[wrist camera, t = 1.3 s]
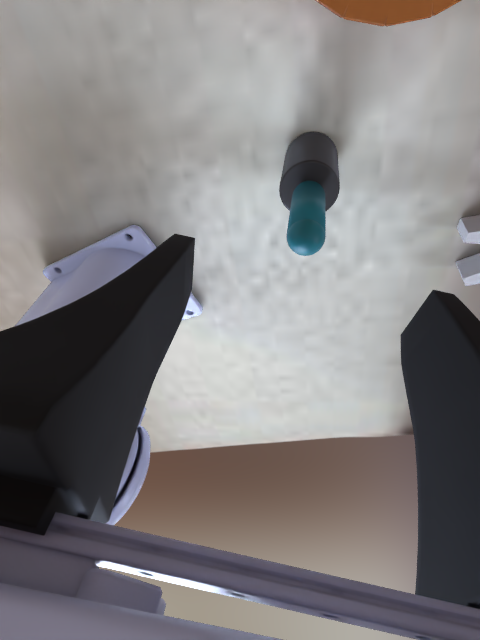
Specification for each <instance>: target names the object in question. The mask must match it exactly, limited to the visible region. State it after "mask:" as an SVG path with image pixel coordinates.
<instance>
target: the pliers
mask: <svg viewBox="0 0 480 640" xmlns="http://www.w3.org/2000/svg"><path fill="white" fill-rule="evenodd" d="M457 229H458V231H459V234H460V236H461V238H462V240H463V242H464V243H480V215H476V216H470V217H464V218H460V221H459V224H458V226H457ZM456 264H457V267H458V269H459V272H460V274H461V276H462V279H463V281H464V283H465V286H469V285H474V284H479V283H480V253H478V254H476V255H473V256H470V257H467V258H464V259H462V260H459V261H456Z"/></svg>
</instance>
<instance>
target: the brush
mask: <svg viewBox="0 0 480 640" xmlns="http://www.w3.org/2000/svg"><path fill="white" fill-rule="evenodd" d="M279 191H280V197H281V200H282V202H283V204H284V205H285V207H286V208H287V209H288V210H290V215H289V223H288V230H287V242H288V245H289V247H290V248H291V249H292V250H293V251H294V252H295V253H297V254H299V255H303V256H308V255H312V254H314V253H316V252H317V251H319V250H320V249H321V247H322V246H323V244H324V242H325V211H327V210H328V209H329V208H330V207H331V206H332V205H333V204H334V203H335V201H336V199H337V197H338V194H339V170H338V155H337V149H336V146H335V144H334V143H333V141H332V140H331V139H330V138H329V137H328V136H326V135H324V134H322V133H319V132H308V133H304V134H302V135H300V136H298V137H297V138H296V139H294V140H293V141H292V143H291V144H290V145H289V147H288V149H287V152H286V156H285V161H284V166H283V172H282V177H281V182H280V189H279Z"/></svg>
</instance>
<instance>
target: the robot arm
mask: <svg viewBox="0 0 480 640" xmlns="http://www.w3.org/2000/svg"><path fill="white" fill-rule="evenodd" d="M127 234H130V235H131V236H132V238H131V237H129V236H128V235H127ZM194 245H195V238H192V237H188V236H183V235H179V234H174V235H172V236H171V237H170V238H168V239H167V240H166V241H165V242H163V243H162V244H161V245H160V246H158V247H157V248H156V246H155V245H154V244H153V243H152V241H151V240H150V239H149V237H148V236H147V235H146V233H145V232H144V231H143V230H142V228H140V227H139V226H137V225H131V226H129V227H127V228H125V229H123V230H121V231H119V232H116V233H114V234H112V235H110V236H108V237H106V238H104V239H102V240H100V241H98V242H96V243H94V244H92V245H90V246H88V247H86V248H83V249H81V250H79V251H77V252H75V253H73V254H71V255H69V256H67V257H65V258H63V259H61V260H59V261H57V262H55V263H53V264H51V265H48V266H46V267H45V268H44V270H43V273H44V275H45V276H46V277H47V278H48V279H49V280H50V281H51V283H50V284H49V285H48V287H47V288H46V289H45V290H44V291H43V293H42V294H41V295H40V296H39V297H38V299H37V300H36V301H35V302H34V303H33V305H32V306H31V307H30V308H29V309H28V311H27V312H26V313H25V314H24V315H23V317H22V318H21V319H20V320H19V321H18V323H17V324H16V325H15V326H14V327H12V328H9V329H6V330H3V331H0V640H282V639H277V638H272V637H268V636H263V635H257V634H253V633H248V632H244V631H238V630H234V629H228V628H223V627H219V626H214V625H208V624H204V623H198V622H194V621H188V620H184V619H179V618H174V617H169V616H164V611H165V607H166V603H165V601H164V600H163V599H162V598H161V595H162V590H161V588H160V587H158V586H155V585H152V584H149V583H146V582H143V581H140V580H137V579H134V578H131V577H128V576H125V575H122V574H119V573H115V572H112V571H108V570H104V569H99V567H98V566H101V567H106V568H110V569H114V570H118V571H123V572H127V573H132V574H136V575H140V576H145V577H149V578H153V579H157V580H162V581H166V582H170V583H175V584H179V585H184V586H188V587H192V588H197V589H201V590H205V591H209V592H214V593H218V594H222V595H227V596H231V597H235V598H240V599H244V600H248V601H253V602H257V603H261V604H266V605H270V606H275V607H279V608H283V609H287V610H292V611H296V612H300V613H305V614H309V615H313V616H318V617H322V618H327V619H331V620H335V621H339V622H344V623H348V624H352V625H357V626H361V627H366V628H370V629H374V630H379V631H383V632H387V633H391V634H396V635H400V636H404V637H409V638H413V639H418V640H480V321H479V320H478V319H477V318H476V317H475V316H474V314H473V313H472V312H471V311H470V310H469V309H468V308H467V307H466V306H465V305H464V304H463V303H462V302H461V301H460V300H459V299H458V298H457V297H456V296H455V295H454V294H450V293H445V292H441V291H436V290H433V291H432V292H431V293H430V295H429V296H428V298H427V299H426V300H425V302H424V303H423V305H422V306H421V307H420V309H419V310H418V312H417V313H416V314H415V316H414V317H413V319H412V320H411V321H410V323H409V324H408V326H407V327H406V328H405V330H404V331H403V333H402V334H401V364H402V371H403V376H404V382H405V388H406V393H407V399H408V404H409V409H410V415H411V420H412V425H413V431H414V438H415V448H416V462H417V481H418V556H417V578H416V591H415V595H414V594H411V593H406V592H402V591H397V590H393V589H389V588H384V587H380V586H376V585H371V584H367V583H362V582H358V581H354V580H349V579H345V578H340V577H336V576H331V575H327V574H323V573H319V572H315V571H310V570H306V569H301V568H297V567H292V566H288V565H284V564H280V563H275V562H271V561H266V560H262V559H258V558H253V557H249V556H245V555H240V554H236V553H231V552H227V551H222V550H218V549H214V548H210V547H205V546H201V545H197V544H192V543H188V542H183V541H179V540H175V539H170V538H166V537H161V536H157V535H153V534H149V533H144V532H140V531H135V530H131V529H127V528H122V527H118V526H114V524H116V523H117V522H118V521H119V520H120V519H121V518H122V516H123V515H124V514H125V513H126V512H127V510H128V509H129V508H130V506H131V505H132V503H133V502H134V500H135V498H136V496H137V495H138V493H139V491H140V489H141V487H142V484H143V482H144V479H145V476H146V474H147V470H148V466H149V460H150V437H149V434H148V432H147V431H146V429H145V428H144V427H142V426H140V424H141V422H142V419H143V416H144V414H145V411H146V408H145V404H146V401H147V398H148V395H149V392H150V389H151V386H152V384H153V381H154V379H155V377H156V374H157V372H158V370H159V367H160V365H161V363H162V361H163V359H164V357H165V355H166V353H167V350H168V348H169V346H170V344H171V342H172V340H173V338H174V335H175V333H176V331H177V329H178V327H179V325H180V322H181V320H184V319H187V318H191V317H194V316H197V315H200V314H201V313H202V310H203V308H202V306H201V305H200V303H199V302H198V301H197V299H196V298H195V297H194V295H193V294H192V293H191V291H192V280H193V263H194ZM60 269H61V270H60ZM189 310H191V311H189Z"/></svg>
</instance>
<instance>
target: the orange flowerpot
mask: <svg viewBox="0 0 480 640" xmlns="http://www.w3.org/2000/svg"><path fill="white" fill-rule="evenodd" d="M315 1H317V2H318V3H320V4H321V5H323V6H324V7H326V8H327V9H329V10H330V11H332V12H333V13H335V14H336V15H337V16H339V17H340V18H342V17H343V18H344V19H346V20H351V21H357V22H362V23H368V24H373V25H378V26H384V25H385V26H391V25H396V24H400V23H405V22H410V21H415V20H420V19H425V18H430V17H431V16H433V15H436V14H438V13H440V12H442V11H443V10H445V9H447V8H449V7H451V6H452V5H454V4H456V3H458V2H460V1H461V0H315Z"/></svg>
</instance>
